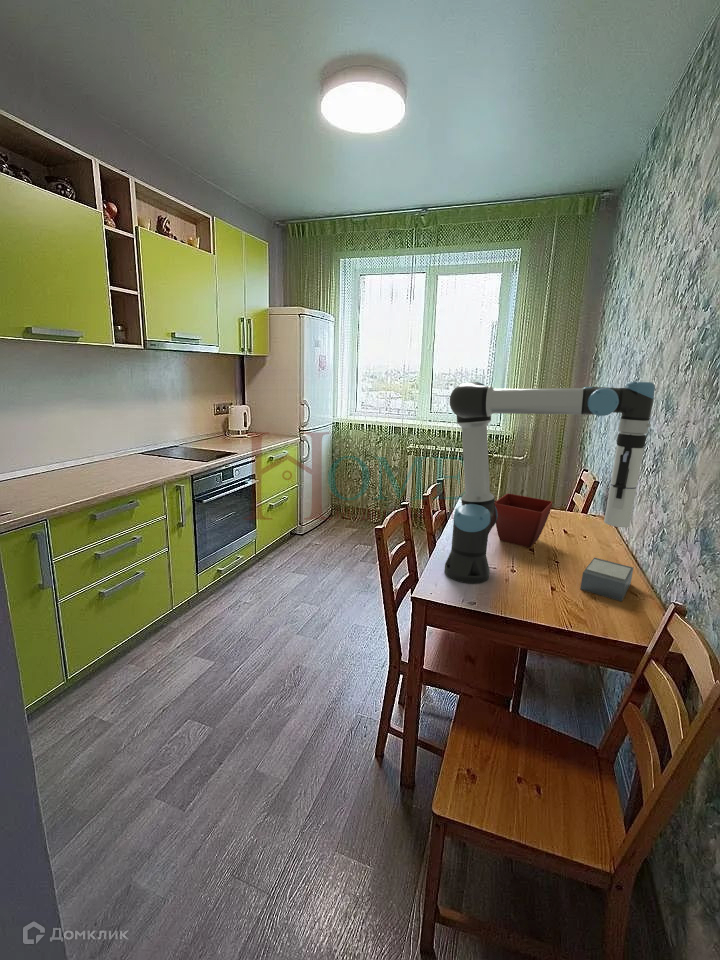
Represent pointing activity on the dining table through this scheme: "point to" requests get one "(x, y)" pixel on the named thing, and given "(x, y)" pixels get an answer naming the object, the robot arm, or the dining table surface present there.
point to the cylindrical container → (624, 515)
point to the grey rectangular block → (607, 579)
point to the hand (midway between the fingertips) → (619, 505)
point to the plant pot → (521, 518)
